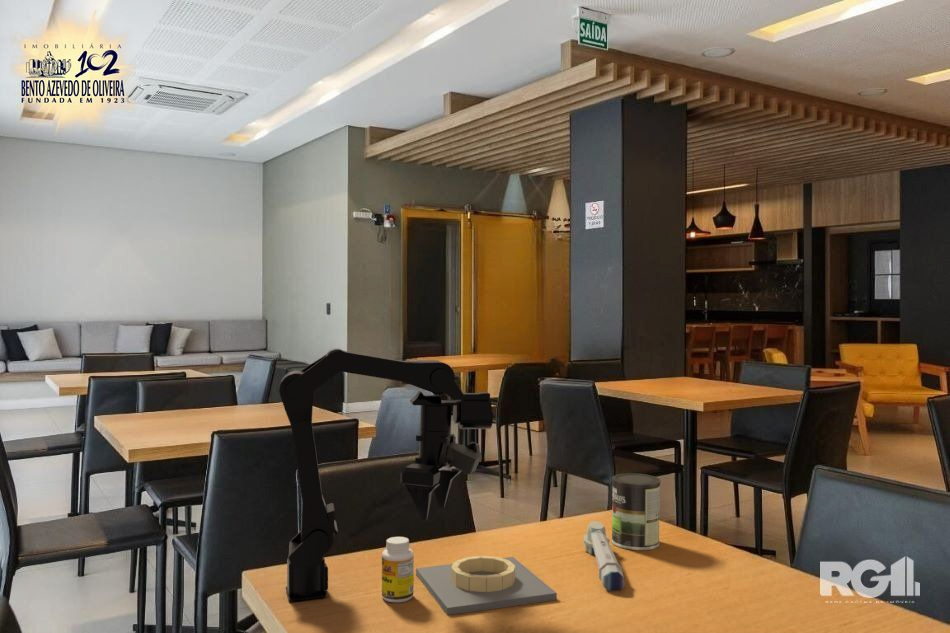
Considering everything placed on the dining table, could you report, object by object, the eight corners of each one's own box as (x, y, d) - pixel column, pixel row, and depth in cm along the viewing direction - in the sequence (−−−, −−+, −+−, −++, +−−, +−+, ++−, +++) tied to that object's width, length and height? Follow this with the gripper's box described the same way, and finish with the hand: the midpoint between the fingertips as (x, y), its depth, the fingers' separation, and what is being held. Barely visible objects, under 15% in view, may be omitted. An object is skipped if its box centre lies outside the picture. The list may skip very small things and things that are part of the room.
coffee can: (622, 552, 157) (622, 484, 157) (604, 537, 167) (605, 473, 167) (668, 549, 159) (668, 482, 159) (648, 534, 169) (648, 472, 169)
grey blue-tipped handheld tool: (599, 571, 135) (582, 514, 160) (598, 605, 136) (581, 543, 161) (628, 571, 135) (607, 514, 160) (627, 605, 136) (606, 543, 161)
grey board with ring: (447, 615, 125) (447, 592, 125) (415, 574, 144) (415, 555, 144) (556, 599, 131) (556, 578, 131) (512, 562, 150) (513, 544, 150)
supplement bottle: (377, 595, 133) (377, 537, 133) (406, 589, 136) (406, 533, 136) (388, 606, 128) (388, 546, 128) (418, 600, 131) (418, 541, 131)
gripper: (461, 440, 127) (458, 532, 127) (491, 425, 145) (488, 506, 145) (400, 435, 131) (397, 525, 131) (437, 421, 148) (434, 500, 148)
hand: (432, 513), depth 139 cm, fingers open, 9 cm apart
